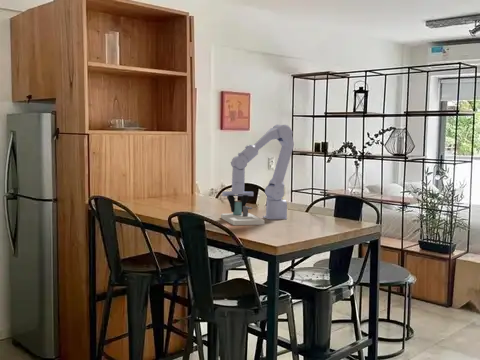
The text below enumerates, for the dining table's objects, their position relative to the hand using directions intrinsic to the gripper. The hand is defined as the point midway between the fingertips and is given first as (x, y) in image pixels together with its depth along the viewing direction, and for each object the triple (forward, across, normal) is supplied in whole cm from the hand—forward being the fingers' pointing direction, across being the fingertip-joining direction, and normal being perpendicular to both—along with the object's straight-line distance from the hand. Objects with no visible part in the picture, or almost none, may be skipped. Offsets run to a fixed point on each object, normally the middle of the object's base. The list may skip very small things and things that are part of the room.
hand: (237, 211), depth 251 cm
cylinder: (+1, 0, 0) cm, 1 cm away
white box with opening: (+3, 0, +7) cm, 8 cm away
